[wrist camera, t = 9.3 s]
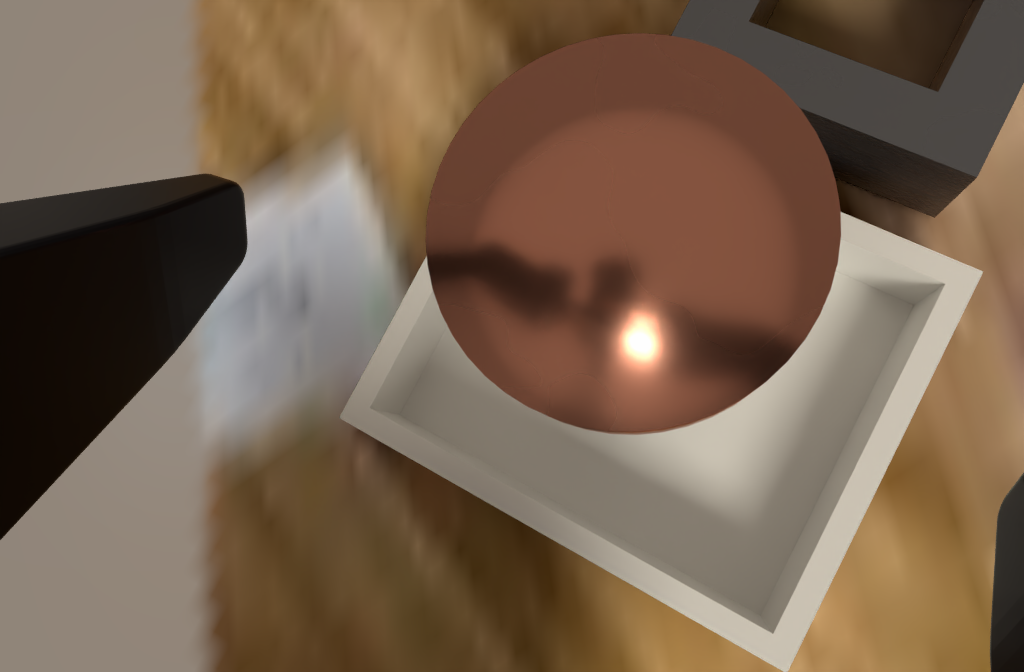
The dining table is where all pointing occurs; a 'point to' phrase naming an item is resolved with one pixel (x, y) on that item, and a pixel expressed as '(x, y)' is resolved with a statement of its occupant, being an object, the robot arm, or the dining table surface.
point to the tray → (696, 447)
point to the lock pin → (633, 233)
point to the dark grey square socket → (886, 97)
